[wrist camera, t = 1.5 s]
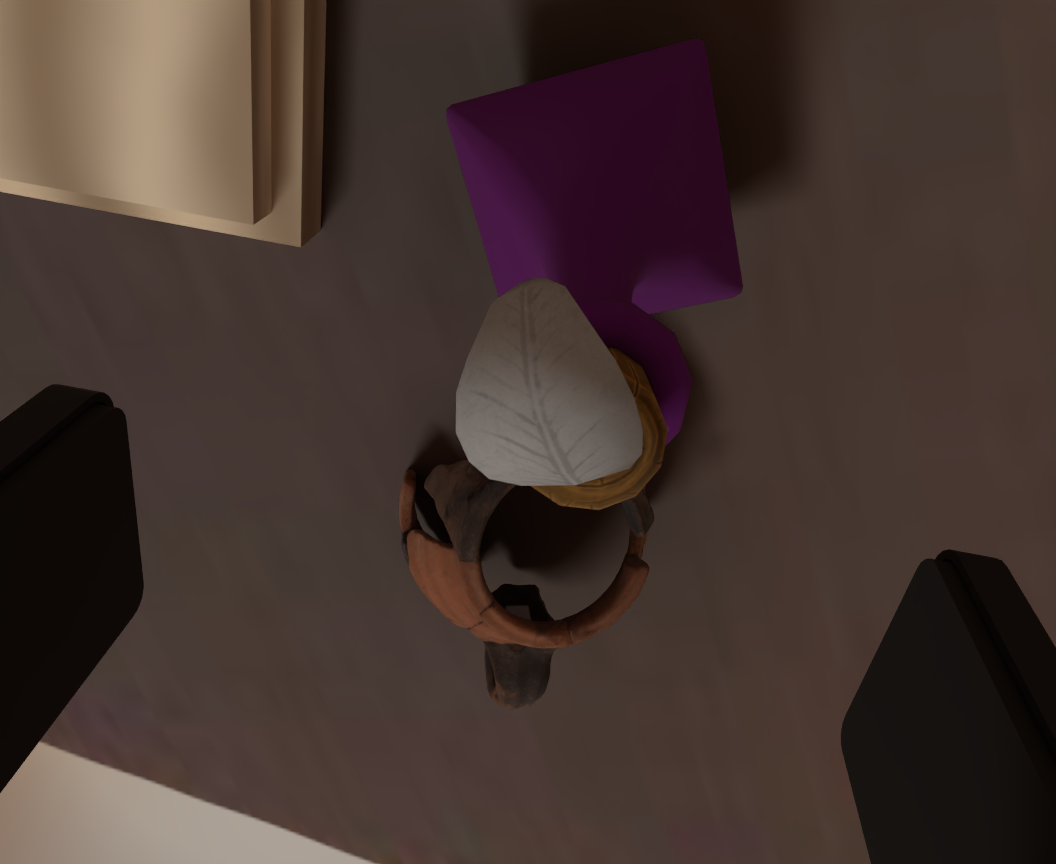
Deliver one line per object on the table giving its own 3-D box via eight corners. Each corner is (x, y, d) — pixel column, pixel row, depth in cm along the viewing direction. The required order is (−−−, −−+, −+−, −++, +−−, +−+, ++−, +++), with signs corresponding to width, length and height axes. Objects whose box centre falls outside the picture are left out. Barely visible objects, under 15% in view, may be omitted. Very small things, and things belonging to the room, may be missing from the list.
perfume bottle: (734, 261, 29) (838, 619, 13) (523, 306, 31) (399, 669, 15) (697, 26, 26) (779, 140, 10) (463, 90, 27) (224, 272, 12)
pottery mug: (371, 402, 34) (412, 447, 26) (589, 372, 37) (682, 405, 29) (404, 673, 37) (450, 784, 29) (604, 626, 40) (693, 716, 32)
